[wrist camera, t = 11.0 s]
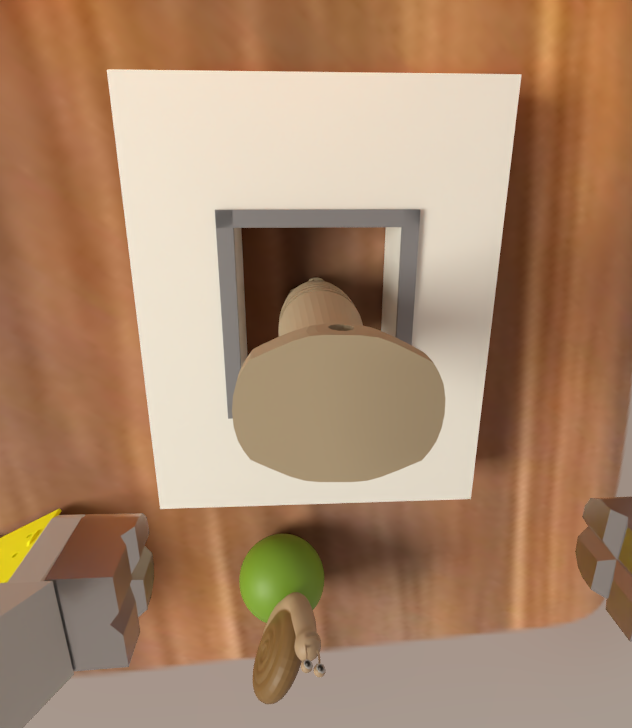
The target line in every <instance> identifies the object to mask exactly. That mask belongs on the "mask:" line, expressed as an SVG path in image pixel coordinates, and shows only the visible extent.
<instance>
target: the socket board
mask: <svg viewBox="0 0 632 728" xmlns="http://www.w3.org/2000/svg"><path fill="white" fill-rule="evenodd" d="M107 75H108V83H109V91H110V99H111V108H112V116H113V124H114V132H115V140H116V149H117V157H118V165H119V173H120V182H121V190H122V198H123V206H124V215H125V223H126V231H127V239H128V248H129V256H130V264H131V272H132V280H133V289H134V297H135V305H136V313H137V322H138V330H139V338H140V346H141V355H142V363H143V371H144V379H145V387H146V396H147V404H148V412H149V420H150V429H151V437H152V445H153V453H154V462H155V470H156V478H157V486H158V495H159V503H160V509H173V508H204V507H235V506H266V505H297V504H328V503H359V502H390V501H421V500H452V499H471V492H472V484H473V476H474V467H475V459H476V450H477V442H478V434H479V425H480V417H481V409H482V400H483V392H484V383H485V375H486V367H487V358H488V350H489V342H490V333H491V325H492V317H493V308H494V300H495V291H496V283H497V275H498V266H499V258H500V250H501V241H502V233H503V224H504V216H505V208H506V199H507V191H508V183H509V174H510V166H511V158H512V149H513V141H514V132H515V124H516V116H517V107H518V99H519V91H520V82H521V74H448V73H363V72H278V71H193V70H107ZM307 227H386V232H385V254H384V277H383V299H382V322H381V331H382V332H385V333H387V334H389V335H391V336H393V337H396V338H398V339H400V340H402V341H404V342H406V343H408V344H410V345H412V346H413V347H415V348H417V349H419V350H421V351H423V352H424V353H425V354H426V355H427V356H428V357H429V358H430V359H431V360H432V362H433V363H434V365H435V366H436V368H437V370H438V371H439V373H440V376H441V379H442V381H443V384H444V391H445V415H444V419H443V424H442V428H441V431H440V433H439V436H438V438H437V441H436V443H435V444H434V446H433V447H432V449H431V450H430V452H429V453H428V454H427V455H426V456H425V457H424V459H423V460H422V461H419V462H417V463H415V464H412V465H410V466H407V467H405V468H403V469H400V470H398V471H395V472H393V473H390V474H387V475H385V476H382V477H379V478H375V479H372V480H368V481H359V482H313V481H304V480H300V479H297V478H293V477H290V476H287V475H285V474H282V473H280V472H278V471H275V470H273V469H270V468H268V467H266V466H263V465H261V464H259V463H257V462H254V461H252V460H250V458H249V457H248V456H247V455H246V453H245V452H244V451H243V449H242V447H241V445H240V444H239V442H238V440H237V436H236V433H235V430H234V425H233V416H232V404H233V394H234V390H235V386H236V382H237V378H238V374H239V371H240V369H241V367H242V365H243V363H244V362H245V360H246V358H247V357H248V355H247V334H246V313H245V292H244V271H243V250H242V229H241V228H307Z"/></svg>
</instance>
